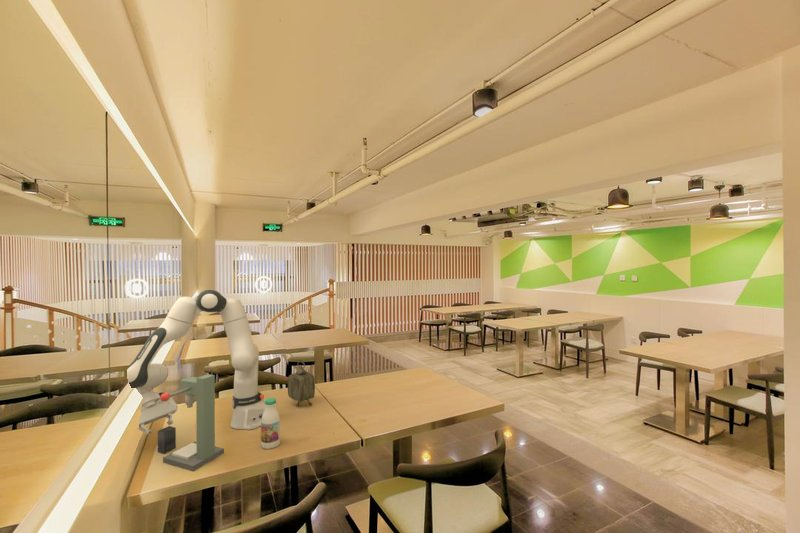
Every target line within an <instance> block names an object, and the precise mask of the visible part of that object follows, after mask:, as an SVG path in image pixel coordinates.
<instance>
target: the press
mask: <svg viewBox="0 0 800 533" xmlns="http://www.w3.org/2000/svg"><path fill="white" fill-rule="evenodd" d="M215 376H216V375H215V374H203V375H202V376H197V377H196V376H188V377H186V378H182V379H180V380H179V390H178V391H173V392H172V393H169V392H168V393H169V394H168V393H164V394H162V395H161V397H160V399H161V401H167V400H169V398H170V397H171V398H173V397H175V396H178V395H181V394H185V395H184V396H185V397H184V398H185V400H184V401H185V402H184V404H185V405H186V407H187V408H193V405H194V404H195V399H196V405H195V406H196V407H195V409H196V440H195V441H193V442H191V443H189V444H187V445H184V446H183V447H181V448H179V449H177V450H175V451H173V452H172V453H169V454H167V455H165V456H164V457H162V463H164V464H167V465H171V466H174V467H177V468H181V469H184V470H186V471H189V472H194V471H196V470H198V469H199V468H202V467H203V466H205V465H207V464H208V463H210V462H211V461H213V460H216V459H217V458H218V457H220V456H221V455H224V453H225V448H224V447H221V446H216V440H215V438H216V437H215V436H216V430H215V429H216V428H215V427H216V425H215V424H216V422H215V421H216V419H215V418H216V417H215V414H216V413H215V412H216V411H215V409H216V408H215V407H216V406H215V403H216V401H215V396H216V395H215V394H216V393H215V390H216V389H215V388H216V387H215V385H216V384H215V383H216V382H215V381H216V380H215ZM195 396H196V398H195Z"/></svg>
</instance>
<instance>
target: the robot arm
mask: <svg viewBox="0 0 800 533" xmlns="http://www.w3.org/2000/svg"><path fill="white" fill-rule="evenodd" d="M200 312H204V313H205V312H206V313H219V315H220V316H221V317H220V318H221V319H222V320H221V321H222V324H223V327H224V330H225V334H226V338H227V344H228V350H229V354H230V355H229V356H230V362H231V366H232V368H234V377H233V395H232V408H233V410H232V416H231V421H230V424H229V425H230V427H231V428H232V429H236V430H237V429H238V430H248V431H249V430H252V429H256V428H258V427H261V420H262V415H263V413H264V411H265V407H266V406H265V400H266V399H265V394H263V393H262V392H260V391H259V390H258V389H259V384H258V382H259V381H258V380H259V379H258V378H259V361H260V360H259V356H260V350H259V348H258V346H257V345H256V344H255V343H254V340H253V337H252V335H253V334H252V329H251V326H250V323H249V319H248V316H247V313H246V309H245V307H244V305H243V304H242V301H241V299H239V298H237V297H227V298H226V297H224V296H223V295H222V294H221V293H220V292H219V291H218V290H216V289H212V288H207V289H204V290H202V291H201V292H200V293H199V294H198V295H196V296H195V297H190V296H180V297H178V299H176V301H175V302H174V303H173V304H172V305H171V308H170V309H169V311H168V313H167V315H166V317H165V319H164V320H163V321H162V322H161V325H160V326H158V328H157V329H155V330H154V331H153V332H152V333H151V334H150V335H149V337H148V338H147V339H146V341H145V343H144V344H143V346H142V347H141V349H140V350H139V352H138V354H137V355H136V357H134V359H133V360H132V362H131V363H130V364H129V365H128V366H126V368H127V379H128V382H129V384H130V386H131V388H136V389H137V390H138V392H139V393H140V394H141V395H142V397H143V401H142V409H141V415H140V419H139V428H138V429H139V431H141V432H144V434H145V435H150V434H151V433H152V429H151V428H150V427H149V428H148V427H146V425H149V424H152V423H154V422H156V421H159V420H161V419H164V418H166V419H167V421H166V423H167V426H171V425H172V424H174V420H173V415H174V414H175V413H176V412H177V411H178V408H179V407H178V404H177V403H176V401H175V399H173V397H170V398H169V400H167V401H161V399H160V397H161V395H162V394H164V393H168V394H170V393H169V392H168V391H162V392H161V391H154V390H153V389H155V388H157V387H158V386H160V385H162V384H163V383H164V382H165V381H166V380H167V378H168V376H169V368H168V367H167V366H166V365H165V364H163V363H152V362H153V360H154V359H155V357H156V356H157V354H158V352H159V350H160V349H161V348H162V347H163V346H164V345H166V344H168V343H170V342H173V341H176V340H179V339H181V338H183V337H184V336H186V334H188V332H189V331H190V329H191V327H192V325H193V323H194V320H195V318H196V316H197V315H198V314H199V313H200Z"/></svg>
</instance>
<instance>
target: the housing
mask: <svg viewBox="0 0 800 533" xmlns="http://www.w3.org/2000/svg"><path fill="white" fill-rule="evenodd" d="M176 429H177V428H176V427H175V426H171V425H167V426H166V427H163V428H161V429H159V430H157V453H159V454H162V455H165V454H168V453H169V452H171V451H173V450H176V444H177V434H176V432H177V431H176Z"/></svg>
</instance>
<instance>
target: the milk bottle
mask: <svg viewBox="0 0 800 533" xmlns="http://www.w3.org/2000/svg"><path fill="white" fill-rule="evenodd" d="M264 400H265V406H266V407H265V411H264V413H263V415H262V420H261V426H260V428H261V430H260V432H261V433H260V438H261V439H260V444H261V445H260V446H261V447H262V449H265V450H270V449H274V448H275V449H276V448H277V447H278V446H279V445H280V444H281V419H280V413H279V411H278V408H277V406H276V404H277V398H276V397H269V398H266V399H264Z"/></svg>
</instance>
